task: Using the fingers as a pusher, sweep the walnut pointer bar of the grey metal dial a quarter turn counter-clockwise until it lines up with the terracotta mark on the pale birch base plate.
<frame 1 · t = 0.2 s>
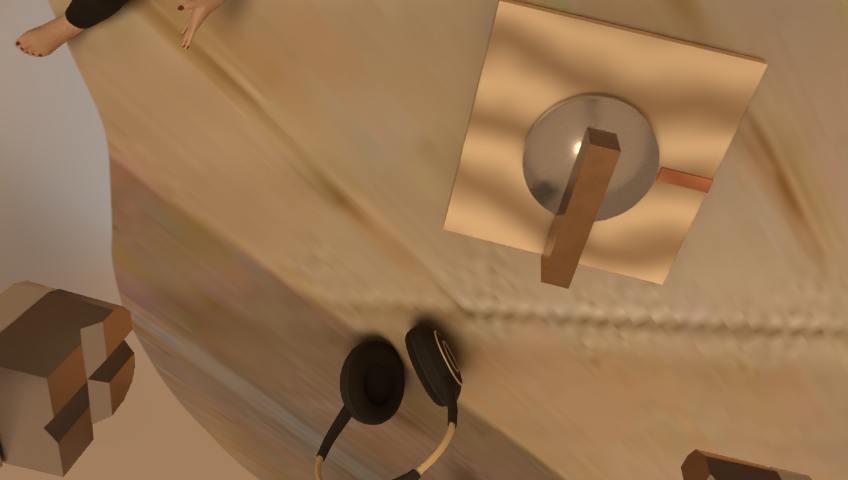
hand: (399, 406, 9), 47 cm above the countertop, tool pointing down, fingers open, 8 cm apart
dial plate: (587, 149, 56), on the countertop
dial: (581, 193, 54), point 4 cm above the countertop, hinge at 0.0°
headphones: (409, 347, 71), on the countertop
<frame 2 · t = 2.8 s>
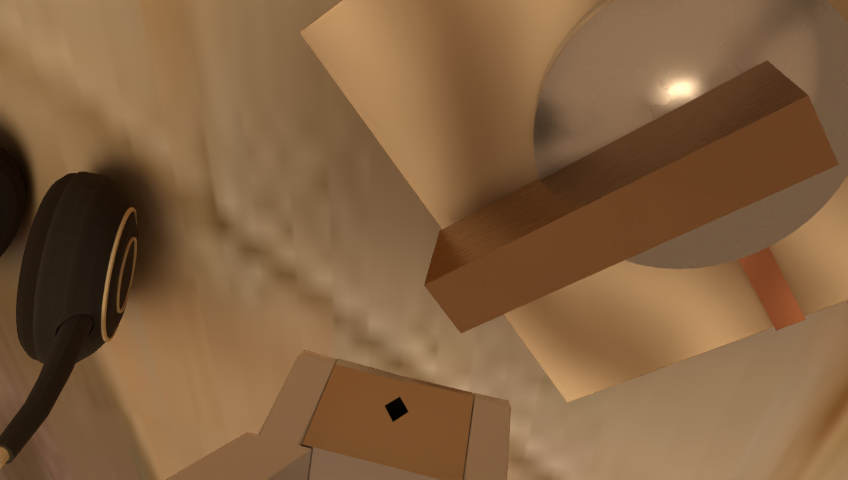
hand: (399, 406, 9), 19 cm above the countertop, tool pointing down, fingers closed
dial plate: (676, 106, 25), on the countertop
dial: (636, 179, 22), point 4 cm above the countertop, hinge at 0.0°
headphones: (63, 198, 33), on the countertop
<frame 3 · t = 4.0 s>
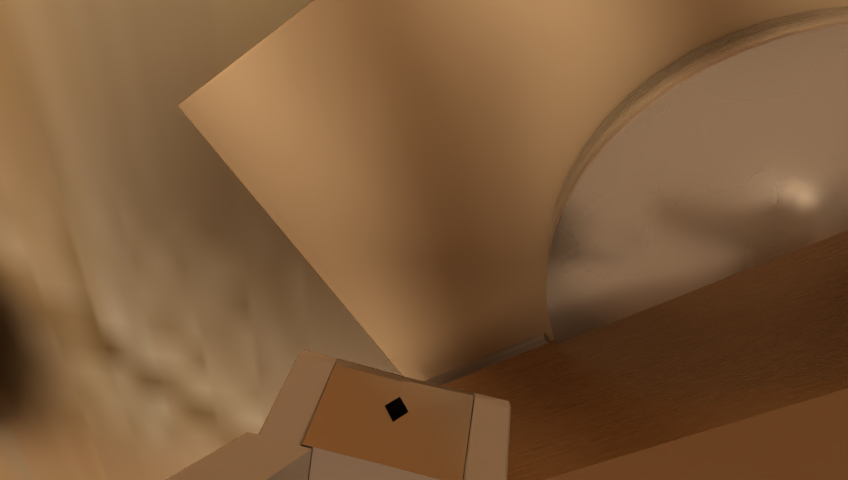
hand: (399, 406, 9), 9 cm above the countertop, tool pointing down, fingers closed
dial plate: (770, 221, 16), on the countertop
dial: (719, 369, 13), point 4 cm above the countertop, hinge at 0.0°
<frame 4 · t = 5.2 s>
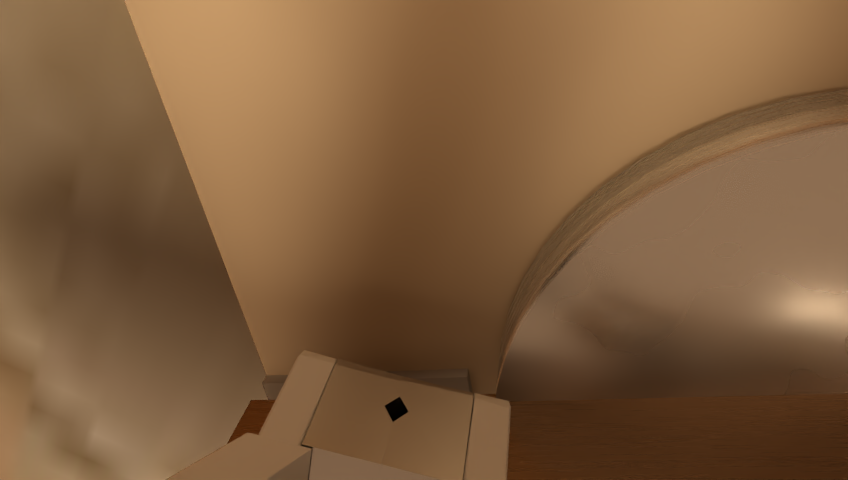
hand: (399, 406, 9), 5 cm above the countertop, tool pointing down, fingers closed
dial plate: (776, 328, 13), on the countertop
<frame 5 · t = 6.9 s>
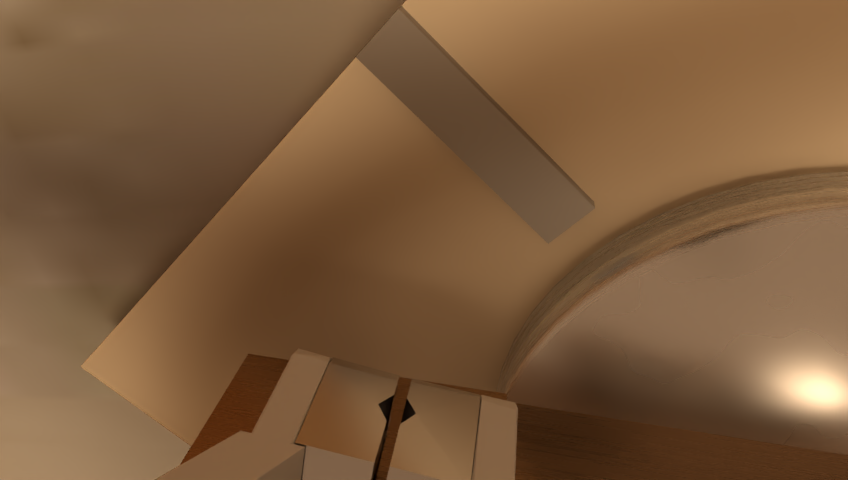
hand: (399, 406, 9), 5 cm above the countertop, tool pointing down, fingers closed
dial plate: (758, 377, 14), on the countertop
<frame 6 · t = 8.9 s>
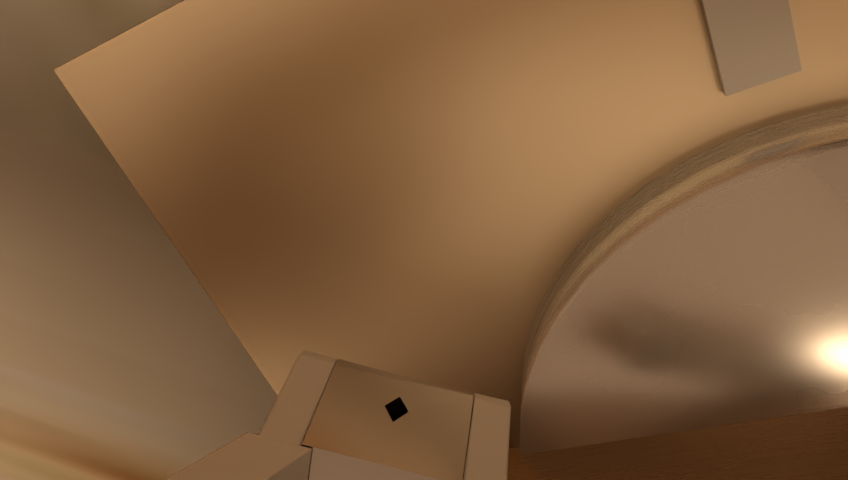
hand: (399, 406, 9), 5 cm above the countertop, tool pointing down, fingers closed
dial plate: (798, 335, 13), on the countertop
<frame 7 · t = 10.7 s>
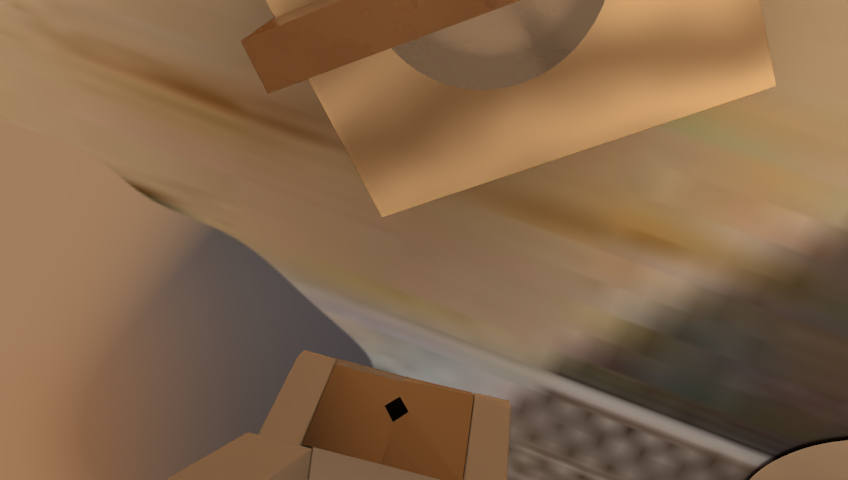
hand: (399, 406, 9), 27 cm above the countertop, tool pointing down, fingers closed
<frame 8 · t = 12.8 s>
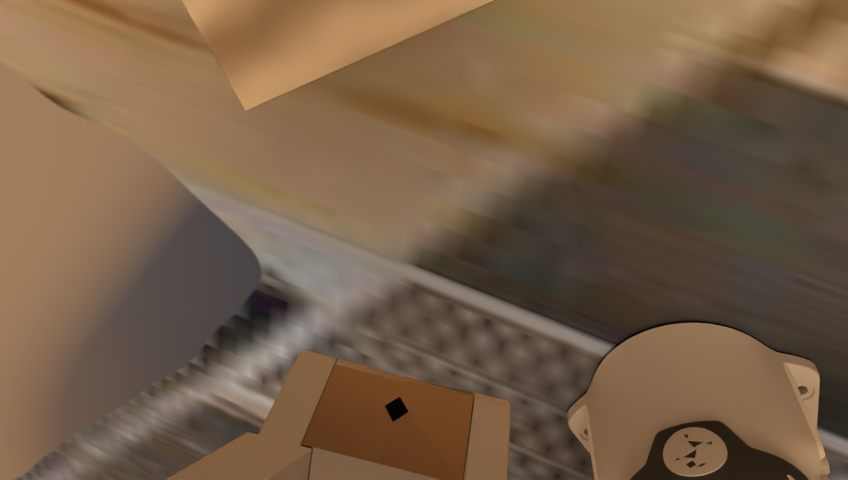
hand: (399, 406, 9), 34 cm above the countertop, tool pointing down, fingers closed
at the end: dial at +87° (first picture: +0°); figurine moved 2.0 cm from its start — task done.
